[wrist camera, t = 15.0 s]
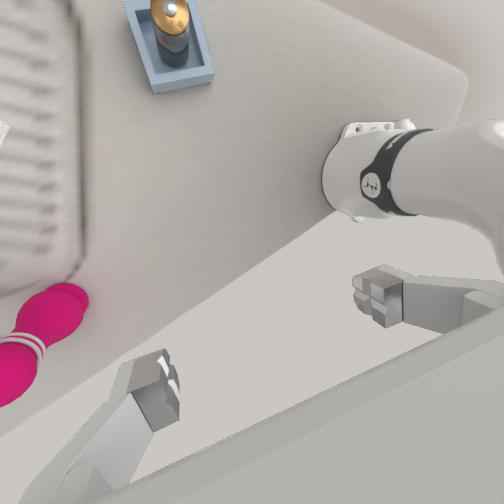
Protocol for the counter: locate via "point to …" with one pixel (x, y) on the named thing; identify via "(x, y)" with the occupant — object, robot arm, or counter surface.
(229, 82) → the counter surface
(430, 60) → the counter surface
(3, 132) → the milk
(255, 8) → the counter surface
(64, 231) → the counter surface
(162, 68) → the light blue square tray
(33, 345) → the pepper mill
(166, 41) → the cell
